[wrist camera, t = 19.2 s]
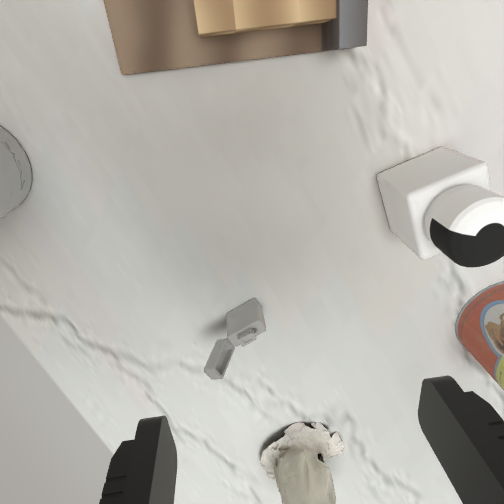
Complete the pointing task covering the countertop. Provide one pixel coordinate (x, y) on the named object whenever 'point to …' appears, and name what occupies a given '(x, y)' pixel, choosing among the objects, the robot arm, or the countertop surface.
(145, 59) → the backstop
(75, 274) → the countertop surface
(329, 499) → the mushroom
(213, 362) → the lighter
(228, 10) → the socket block
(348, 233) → the countertop surface
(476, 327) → the canned food
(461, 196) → the medicine bottle
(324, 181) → the countertop surface
